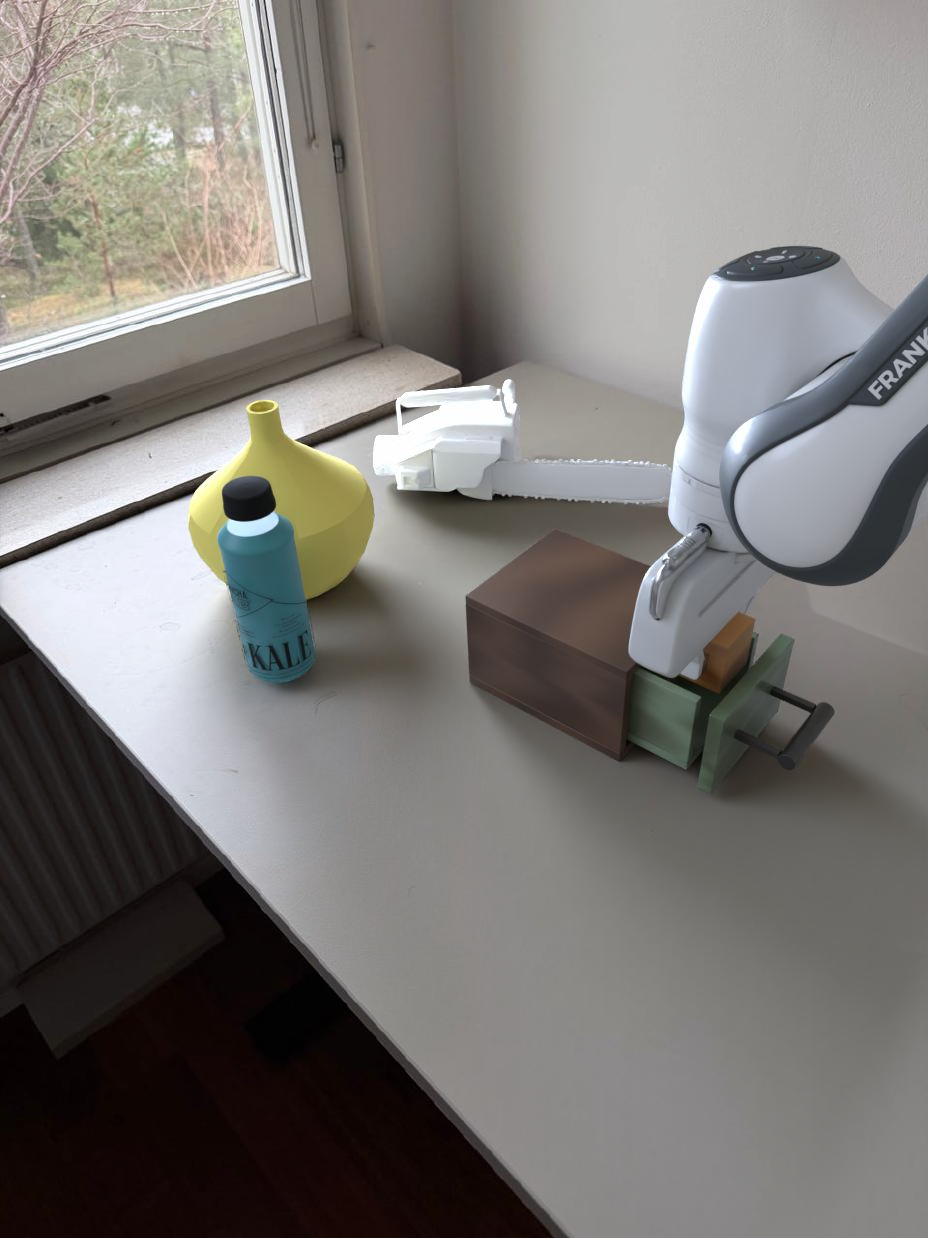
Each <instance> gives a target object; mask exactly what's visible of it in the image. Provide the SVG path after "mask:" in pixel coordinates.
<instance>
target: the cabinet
mask: <svg viewBox="0 0 928 1238" xmlns="http://www.w3.org/2000/svg"><path fill="white" fill-rule="evenodd" d="M651 566H652V565H648V564H646V563H643V562H641V561H639V560H636V559H633V558H631V557H629V556H626V555H623V554H621V553H619V552H616V551H614V550H610V549H608V548H605V547H603V546H601V545H598V544H596V543H593V542H590V541H588V540H585V539H582V538H581V537H577V536H576V535H573V534H571V533H568V532H565V531H564V530H560V529H558V528H556V527H555V528H552V530H550V531H549V532H547V533H546V534H545V535H543V536H542V537H541V538H540V539H538V540H537V541H535V542H534V543H533V544H531V545H530V546H529V547H528V548H526V549H524V550H523V551H522V552H521V553H519V554H518V555H516V557H514V558H513V559H512V560H510V561H509V562H508V563H506V564H505V565H504V566H502V567H500V568H499V570H497V571H496V572H494V573H493V574H491V576H489V577H488V578H487V579H485V580H484V581H483V582H481V583H480V584H478V585H477V586H476V587H474V588H473V589H472V590H470V591H469V592H468V593H467V594H466V595H465V598H464V599H465V619H466V639H467V660H468V675H469V676H468V677H469V678H468V679H469V683H471V684H472V685H474V686H476V687H478V688H480V689H482V690H483V691H485V692H488V693H489V694H491V695H493V696H495V697H497V698H499V699H501V700H502V701H504V702H506V703H508V704H510V705H512V706H513V707H515V708H517V709H520V710H522V711H523V712H525V713H526V714H528V715H531V716H532V717H534V718H536V719H537V720H540V721H542V722H543V723H546V724H547V725H550V726H551V727H553V728H555V729H557V730H559V731H560V732H563V733H564V734H566V735H568V736H570V737H572V738H574V739H575V740H577V741H580V742H581V743H583V744H585V745H587V746H589V747H591V748H592V749H594V750H596V751H598V752H600V753H602V754H604V755H605V756H607V757H609V758H611V759H613V760H615V761H617V762H620V761H621V760H623V758H624V757H625V756H626V755H627V753H628V752H630V750H632V748H633V747H634V746H635V745H636V744H635V743H633V742H631V741H629V740H627V739H626V737H627V727H628V717H629V706H630V696H631V685H632V674H633V673H634V672H635V671H636V670H637V669H638V668H639V667H640V666H641V665H640V664H638V663H636V662H635V661H634V660H633V659H632V658H631V657H630V655H629V640H630V634H631V628H632V622H633V616H634V611H635V606H636V601H637V597H638V593H639V590H640V587H641V584H642V581H643V579H644V577H645V575H646V573H647V572H648V570H649V569H650V567H651Z"/></svg>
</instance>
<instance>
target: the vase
mask: <svg viewBox="0 0 928 1238" xmlns="http://www.w3.org/2000/svg"><path fill="white" fill-rule="evenodd" d="M245 411H246V416H247V422H248V426H249V431H250V437H249V440H248V441H247V443H246V445H245V446H244V447H243V448H242V449H241V450H240V451H239V452H237V454H235V456H233V457H232V458H231V459H230V460H229V461H228V462H227V463H225V464H224V465H223V466H221V467H220V468H219V469H217V471H215V472H214V473H213V474H212V475H210V476H209V477H207V479H206V480H205V481H204V482H203V483H202V484H200V485H199V487H198V488H197V489H196V490H195V492H194V493H193V495H192V497H191V500H190V501H189V506H188V513H187V528H188V529H187V530H188V532H189V535H190V538H191V542H192V545H193V548H194V549H195V551H196V553H197V555H198V556H199V558H200V560H202V562H203V563H204V564H205V565H206V566H207V567H208V568H209V570H210V571H211V572H212V573H213V574H214V575H215V576H216V578H218V580H220V581H222V583H224V584H226V583H227V584H228V582H227V578H226V574H225V572H223V571H225V569H224V564H223V559H222V555H221V551H220V548H219V546H218V542H217V536H218V533H219V531H220V529H221V528H222V527H223V525H224V524H225V523H226V522H227V521H228V520H229V518H228V517H227V516H226V515H225V513H224V509H223V498H222V489H223V487H224V485H225V484H227V483H228V482H229V481H231V480H233V479H236V478H239V477H244V476H259V477H263V478H265V479H267V480H268V481H269V483H270V484H271V488H272V491H273V495H274V497H275V500H276V508H275V510H274V511H273V512H276V513H278V514H280V515H282V516H284V517H285V518H287V519H288V520H289V521H290V522H291V524H292V525H293V528H294V538H295V544H296V550H297V555H298V561H299V567H300V572H301V578H302V584H303V589H304V595H305V598H306V601H307V599H308V600H310V599H313V598H316V597H319V596H320V595H322V594H324V593H326V592H328V591H329V590H332V589H333V588H335V587H337V586H338V585H339V584H340V583H341V582H343V581H344V580H345V579H347V577H348V576H349V574H350V573H351V572H352V571H353V570H354V569H355V567H356V566H357V565H358V563H359V562H360V560H361V559H362V557H363V556H364V554H365V552H366V548H367V546H368V543H369V540H370V537H371V534H372V531H373V527H374V522H375V516H376V515H375V504H374V497H373V494H372V491H371V488H370V485H369V484H368V482H367V480H366V479H365V477H364V475H363V474H362V473H361V472H360V471H359V470H358V469H357V468H356V467H355V466H354V465H352V464H351V463H349V462H347V461H345V460H343V459H341V458H339V457H336V456H333V455H331V454H328V453H325V452H323V451H320V450H317V449H315V448H313V447H310V446H308V445H306V444H303V443H301V442H299V441H297V440H294V439H292V438H291V437H290V436H289V435H288V434H286V433H285V432H284V429H283V426H282V419H281V415H280V410H279V403H277V401H275V400H272V399H261V400H255V401H252V402H250V403H249V404H247V405H246V407H245ZM224 577H225V578H224ZM225 580H226V582H225Z"/></svg>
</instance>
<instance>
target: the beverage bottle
mask: <svg viewBox="0 0 928 1238" xmlns="http://www.w3.org/2000/svg"><path fill="white" fill-rule="evenodd" d="M222 498H223V509H224V513H225V515H226V516H227V517H228V518H229V520H228V521H227V522H226V523H225V524H224V525H223V527H222V528H221V529H220V531H219V533H218V536H217V542H218V546H219V548H220V551H221V555H222V559H223V564H224V569H225V571H223V572H225V574H226V578H227V582H228V584H227V583H225V585H226V587H227V591H228V592H229V596H230V597H229V599H230V602H231V604H232V606H233V607H231V608H232V610H233V612H234V615H235V626H236V631H237V633H239V634H237V636H238V639H239V641H241V646H240V649H241V651H242V657H243V660H245V667H246V668H247V670H248V671H249V672H250V673H251V675H252V676H253V677H255V678H256V679H258V680H260V681H261V682H265V683H271V684H274V683H275V684H281V683H286V682H287V683H288V682H291V681H294V680H296V679H298V678H300V677H303V675H304V674H306V673H308V672H309V671H310V669H311V668H312V666H313V664H314V662H315V659H316V652H318V651H317V649H316V647H317V645H316V644H315V643H316V640H315V639H314V638H315V632H314V629H313V624H311V622H312V616H311V611H310V608H309V607H308V602H309V599H307V600H306V598H305V595H304V589H303V584H302V578H301V572H300V567H299V561H298V555H297V550H296V544H295V538H294V528H293V525H292V524H291V522H290V521H289V520H288V519H287V518H285V517H284V516H282V515H280V514H278V513H276V512H273V511H274V510H275V508H276V500H275V497H274V495H273V491H272V488H271V484H270V483H269V481H268V480H267V479H265V478H263V477H259V476H244V477H239V478H236V479H233V480H231V481H229V482H228V483H227V484H225V485H224V487H223V489H222ZM224 578H225V577H224ZM225 582H226V580H225Z"/></svg>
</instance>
